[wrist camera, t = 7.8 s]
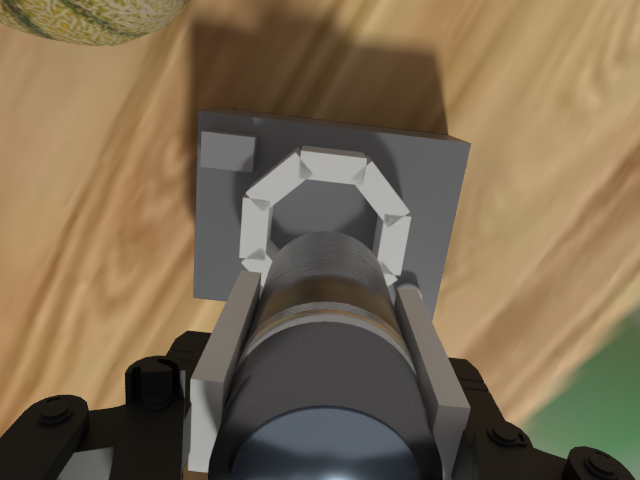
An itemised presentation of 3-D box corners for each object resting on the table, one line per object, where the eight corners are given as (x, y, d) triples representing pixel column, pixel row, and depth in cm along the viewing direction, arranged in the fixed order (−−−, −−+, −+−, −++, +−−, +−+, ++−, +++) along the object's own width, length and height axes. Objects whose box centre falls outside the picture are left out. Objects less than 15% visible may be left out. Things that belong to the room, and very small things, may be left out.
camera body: (211, 269, 35) (182, 315, 27) (218, 107, 31) (186, 112, 24) (417, 291, 35) (440, 343, 28) (448, 135, 31) (485, 148, 24)
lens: (261, 333, 20) (199, 566, 10) (270, 223, 18) (207, 375, 9) (375, 346, 20) (422, 587, 10) (395, 237, 18) (472, 403, 9)
